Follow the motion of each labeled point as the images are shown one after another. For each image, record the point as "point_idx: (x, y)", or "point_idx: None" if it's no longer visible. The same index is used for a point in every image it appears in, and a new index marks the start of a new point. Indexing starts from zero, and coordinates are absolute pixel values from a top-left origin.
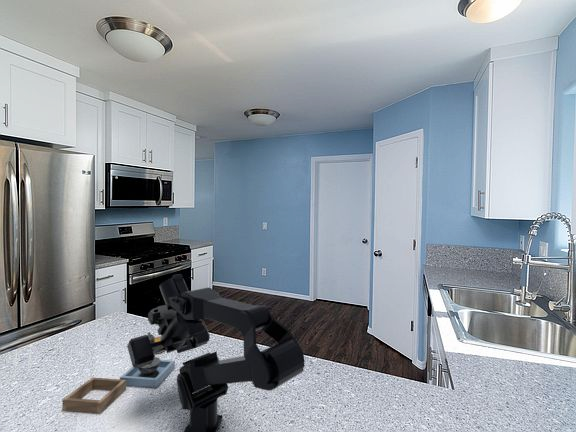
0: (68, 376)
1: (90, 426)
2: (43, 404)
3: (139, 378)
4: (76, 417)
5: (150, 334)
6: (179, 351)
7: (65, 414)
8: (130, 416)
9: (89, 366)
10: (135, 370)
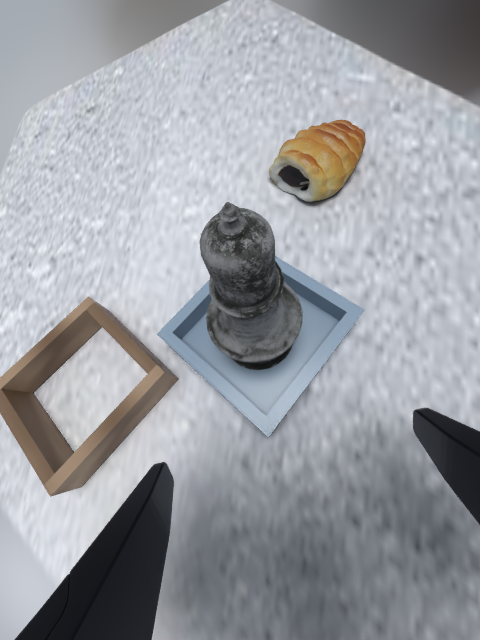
0: (82, 230)
1: (39, 549)
2: (3, 335)
3: (210, 381)
4: None
5: (242, 221)
6: (440, 465)
7: None
8: None
9: (131, 203)
10: None
